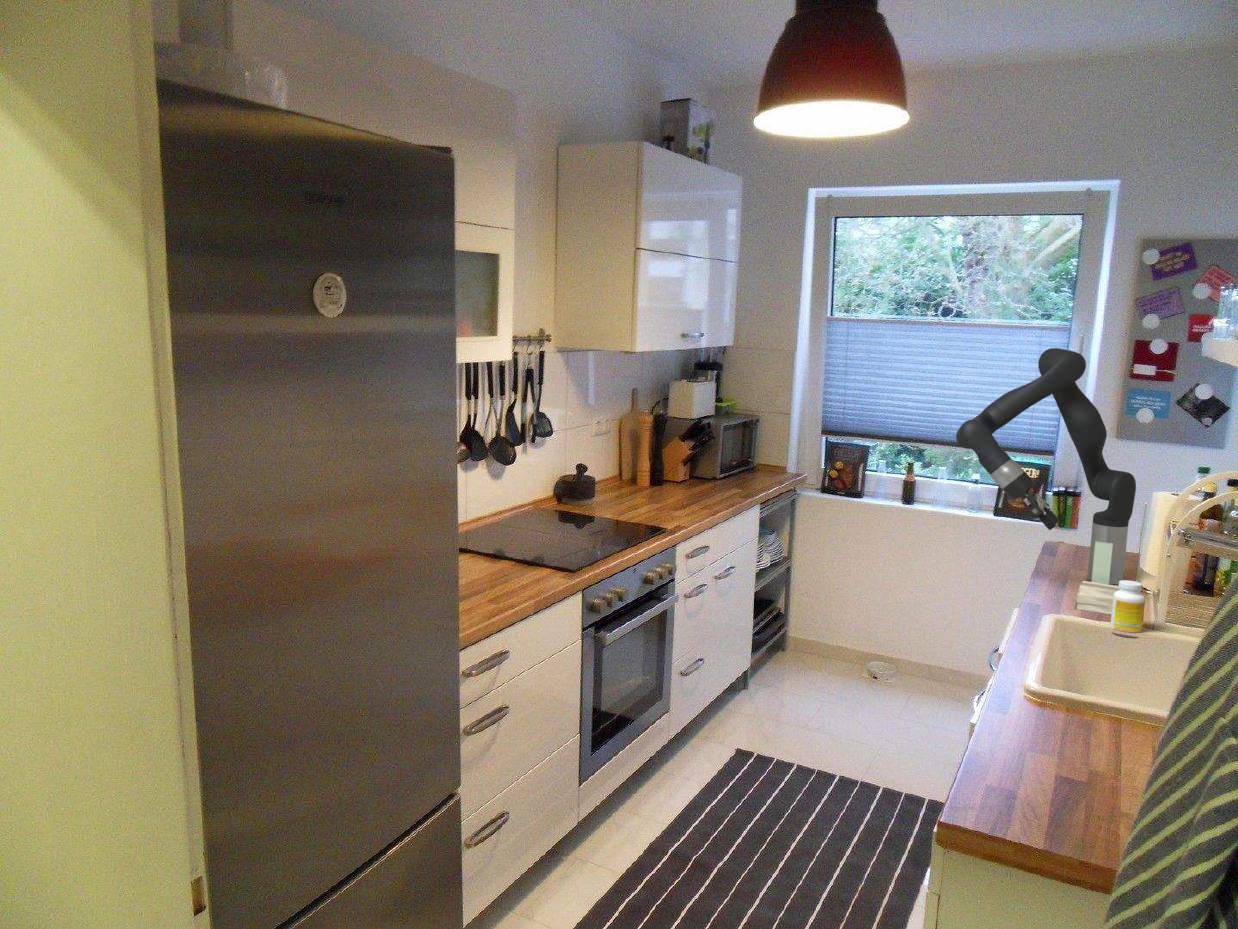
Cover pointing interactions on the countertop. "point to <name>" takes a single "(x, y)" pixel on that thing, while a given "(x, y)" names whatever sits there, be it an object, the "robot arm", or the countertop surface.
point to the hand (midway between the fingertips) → (1055, 525)
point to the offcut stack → (1096, 597)
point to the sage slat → (1102, 562)
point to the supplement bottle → (1128, 609)
